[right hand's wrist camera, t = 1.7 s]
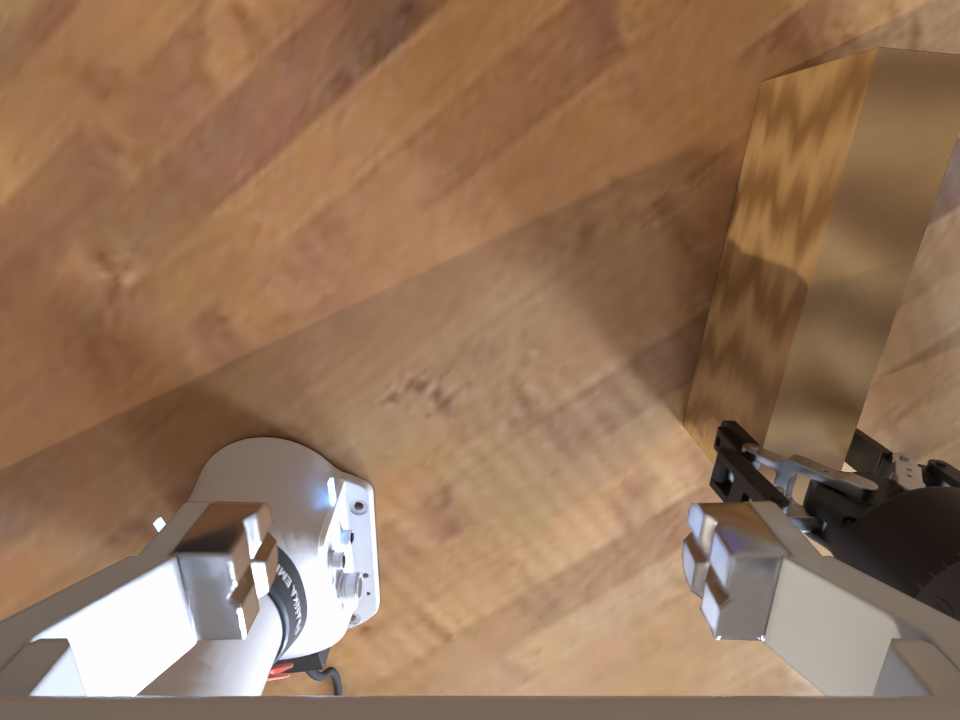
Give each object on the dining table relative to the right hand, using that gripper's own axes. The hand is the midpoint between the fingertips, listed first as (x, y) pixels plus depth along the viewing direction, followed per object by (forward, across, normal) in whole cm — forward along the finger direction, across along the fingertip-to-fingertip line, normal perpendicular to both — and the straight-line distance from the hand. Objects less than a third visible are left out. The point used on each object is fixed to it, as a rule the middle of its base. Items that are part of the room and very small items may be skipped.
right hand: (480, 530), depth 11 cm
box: (+35, +22, -2) cm, 41 cm away
